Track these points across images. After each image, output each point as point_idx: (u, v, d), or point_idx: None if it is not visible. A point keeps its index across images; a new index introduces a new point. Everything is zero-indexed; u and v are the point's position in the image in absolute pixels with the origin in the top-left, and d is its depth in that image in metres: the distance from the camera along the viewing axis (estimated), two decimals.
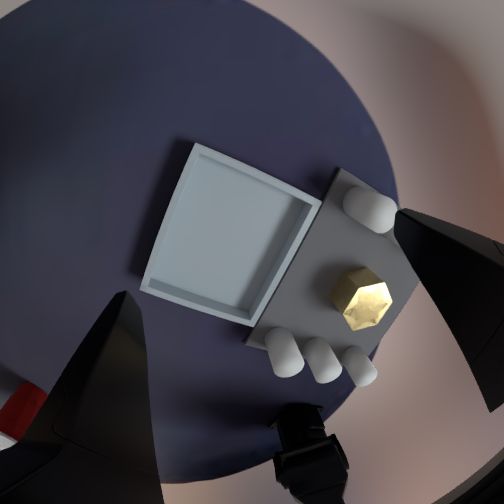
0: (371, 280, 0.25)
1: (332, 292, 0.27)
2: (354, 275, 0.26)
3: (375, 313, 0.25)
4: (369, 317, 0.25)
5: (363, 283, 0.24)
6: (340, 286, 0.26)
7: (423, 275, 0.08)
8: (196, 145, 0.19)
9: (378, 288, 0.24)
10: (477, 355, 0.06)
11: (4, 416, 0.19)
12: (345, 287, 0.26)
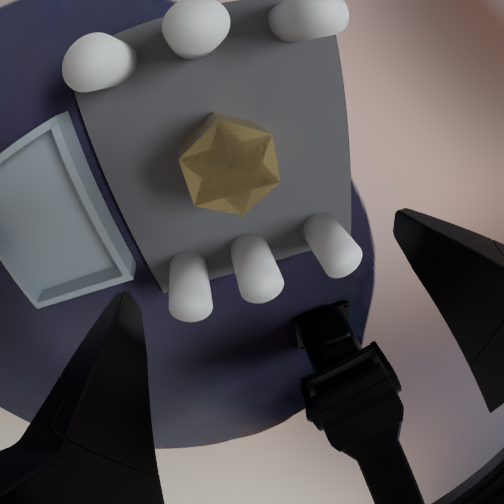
0: (202, 131, 0.14)
1: None
2: (188, 140, 0.15)
3: (256, 169, 0.15)
4: (251, 181, 0.15)
5: (189, 145, 0.14)
6: None
7: (423, 275, 0.08)
8: None
9: (216, 135, 0.13)
10: (477, 355, 0.06)
11: None
12: None
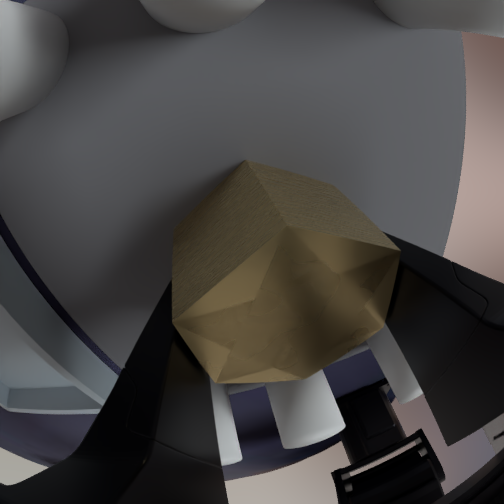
0: (229, 239, 0.05)
1: None
2: (190, 235, 0.07)
3: (350, 319, 0.06)
4: (334, 338, 0.07)
5: (195, 277, 0.06)
6: None
7: None
8: None
9: (274, 266, 0.05)
10: (431, 387, 0.06)
11: None
12: None
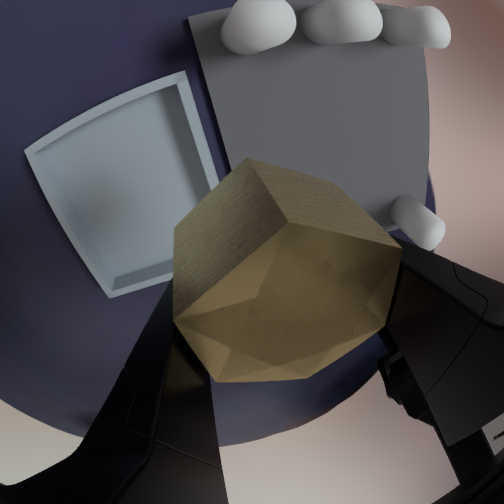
0: (231, 236, 0.05)
1: None
2: (191, 233, 0.07)
3: (351, 317, 0.06)
4: (335, 337, 0.07)
5: (196, 275, 0.05)
6: None
7: None
8: (26, 151, 0.12)
9: (276, 263, 0.05)
10: (431, 387, 0.06)
11: None
12: None
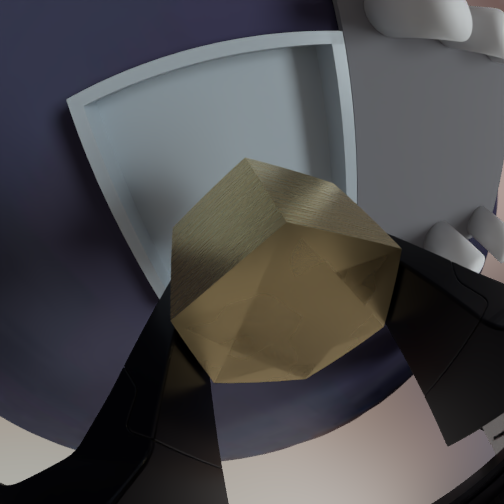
0: (228, 236, 0.05)
1: None
2: (189, 234, 0.07)
3: (350, 318, 0.06)
4: (334, 337, 0.07)
5: (194, 275, 0.05)
6: None
7: None
8: (70, 101, 0.07)
9: (274, 263, 0.05)
10: (431, 386, 0.06)
11: None
12: None
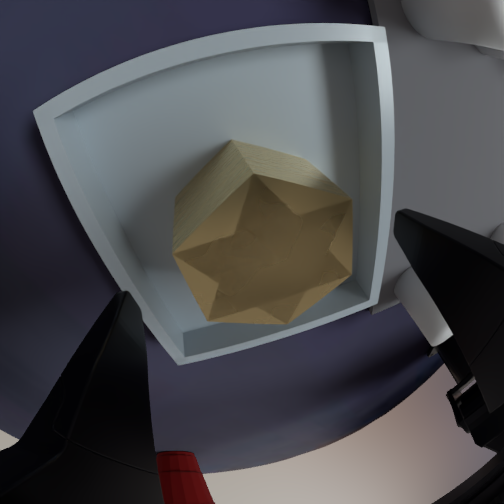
0: (216, 191, 0.07)
1: None
2: (188, 197, 0.09)
3: (317, 261, 0.08)
4: (306, 279, 0.09)
5: (191, 220, 0.07)
6: None
7: (423, 275, 0.08)
8: (38, 113, 0.05)
9: (247, 205, 0.07)
10: (477, 355, 0.06)
11: None
12: None
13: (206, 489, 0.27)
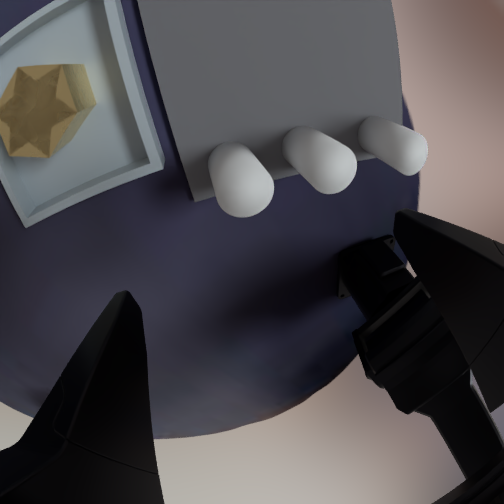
0: None
1: None
2: None
3: (51, 104, 0.09)
4: (49, 118, 0.10)
5: (5, 99, 0.08)
6: None
7: (423, 275, 0.08)
8: None
9: (16, 81, 0.08)
10: (477, 355, 0.06)
11: None
12: None
13: None
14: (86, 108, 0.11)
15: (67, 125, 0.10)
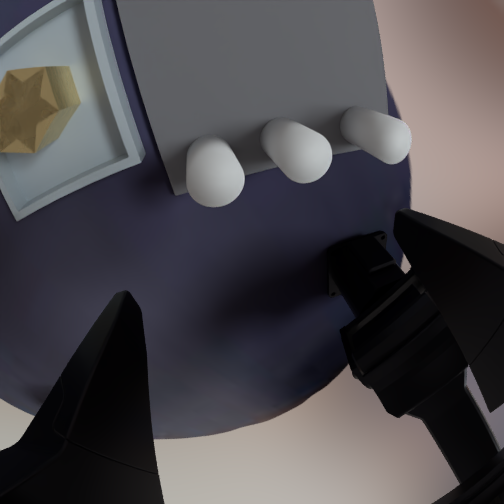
0: None
1: None
2: None
3: (36, 104, 0.10)
4: (34, 117, 0.10)
5: None
6: None
7: (423, 275, 0.08)
8: None
9: (6, 84, 0.08)
10: (477, 355, 0.06)
11: None
12: None
13: None
14: (69, 106, 0.12)
15: (50, 122, 0.10)
